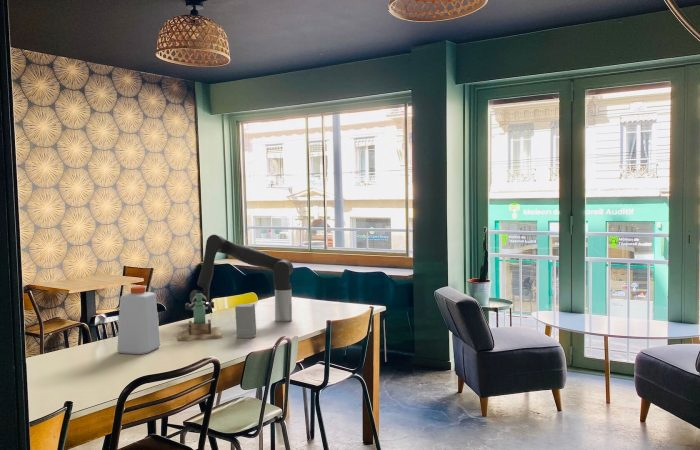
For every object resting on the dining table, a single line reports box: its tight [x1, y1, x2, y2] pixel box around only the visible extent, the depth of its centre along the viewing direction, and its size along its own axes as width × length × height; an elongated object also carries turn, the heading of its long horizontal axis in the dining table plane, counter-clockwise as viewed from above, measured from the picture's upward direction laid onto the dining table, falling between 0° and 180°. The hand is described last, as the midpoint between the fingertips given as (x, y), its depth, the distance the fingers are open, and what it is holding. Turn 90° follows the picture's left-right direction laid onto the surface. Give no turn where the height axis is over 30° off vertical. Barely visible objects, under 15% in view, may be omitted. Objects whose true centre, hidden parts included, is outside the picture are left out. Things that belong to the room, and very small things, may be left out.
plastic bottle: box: [116, 286, 161, 355], centre depth 241 cm, size 15×15×28 cm
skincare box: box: [234, 303, 257, 339], centre depth 264 cm, size 8×7×16 cm
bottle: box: [193, 293, 207, 324], centre depth 268 cm, size 6×6×19 cm
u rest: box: [177, 319, 223, 342], centre depth 268 cm, size 20×18×6 cm
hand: (199, 308), depth 272 cm, fingers open, 8 cm apart
